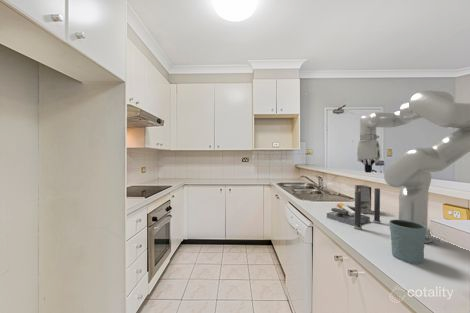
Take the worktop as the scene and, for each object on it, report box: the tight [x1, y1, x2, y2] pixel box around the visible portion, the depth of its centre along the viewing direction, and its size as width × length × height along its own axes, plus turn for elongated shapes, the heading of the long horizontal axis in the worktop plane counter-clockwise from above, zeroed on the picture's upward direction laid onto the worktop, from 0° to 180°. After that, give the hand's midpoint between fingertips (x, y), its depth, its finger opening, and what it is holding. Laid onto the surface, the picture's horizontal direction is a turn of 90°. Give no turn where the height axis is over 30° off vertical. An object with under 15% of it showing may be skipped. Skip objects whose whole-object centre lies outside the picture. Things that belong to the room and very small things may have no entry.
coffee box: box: [354, 184, 372, 215], centre depth 132 cm, size 9×6×16 cm
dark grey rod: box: [353, 190, 363, 231], centre depth 103 cm, size 3×3×18 cm
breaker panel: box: [326, 205, 371, 227], centre depth 117 cm, size 16×15×6 cm
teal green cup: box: [388, 219, 426, 265], centre depth 75 cm, size 10×10×12 cm
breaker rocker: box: [336, 202, 355, 216], centre depth 118 cm, size 9×4×2 cm, turn 29°
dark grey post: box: [372, 187, 382, 225], centre depth 111 cm, size 3×3×18 cm
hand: (368, 172), depth 115 cm, fingers closed
